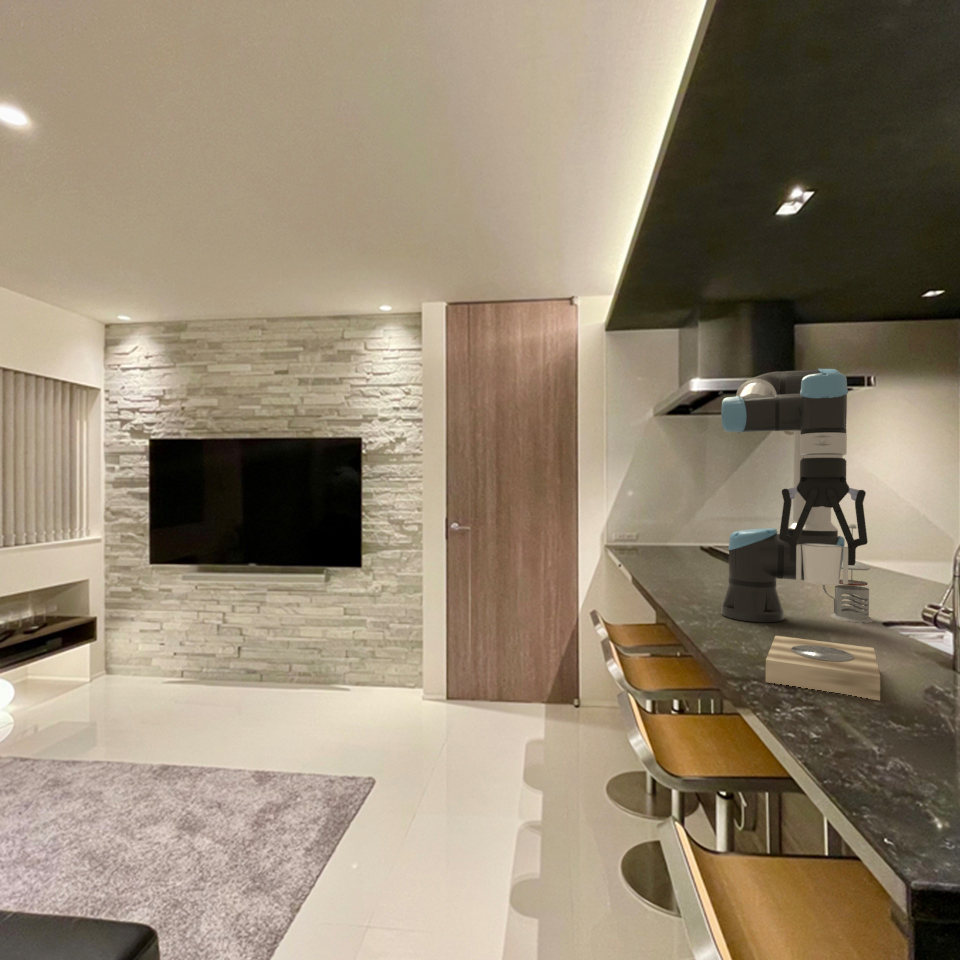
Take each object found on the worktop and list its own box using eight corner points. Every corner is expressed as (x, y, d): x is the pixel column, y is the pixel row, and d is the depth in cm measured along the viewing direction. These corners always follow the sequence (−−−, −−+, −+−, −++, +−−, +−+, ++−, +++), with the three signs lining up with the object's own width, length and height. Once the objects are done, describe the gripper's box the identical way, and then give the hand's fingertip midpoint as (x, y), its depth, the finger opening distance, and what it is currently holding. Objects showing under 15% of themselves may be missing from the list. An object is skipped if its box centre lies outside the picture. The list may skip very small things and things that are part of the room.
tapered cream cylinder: (849, 586, 108) (849, 547, 109) (807, 584, 110) (807, 545, 110) (834, 580, 115) (835, 543, 115) (795, 578, 117) (796, 542, 117)
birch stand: (775, 655, 125) (775, 634, 125) (873, 668, 116) (873, 646, 116) (765, 682, 108) (765, 658, 108) (880, 700, 99) (880, 675, 99)
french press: (878, 624, 154) (879, 525, 154) (826, 620, 158) (827, 524, 158) (868, 616, 163) (869, 523, 163) (819, 612, 167) (820, 521, 167)
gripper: (762, 456, 115) (760, 578, 114) (888, 455, 104) (887, 589, 104) (766, 458, 121) (765, 574, 121) (885, 457, 111) (884, 583, 111)
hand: (821, 580), depth 113 cm, fingers closed on tapered cream cylinder, 7 cm apart
